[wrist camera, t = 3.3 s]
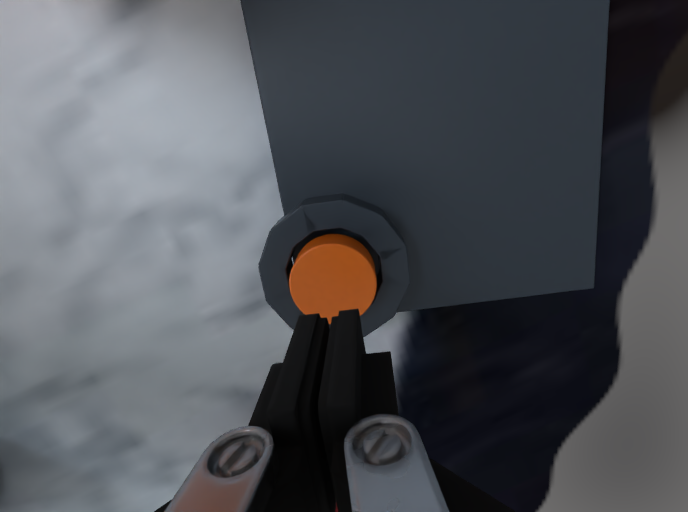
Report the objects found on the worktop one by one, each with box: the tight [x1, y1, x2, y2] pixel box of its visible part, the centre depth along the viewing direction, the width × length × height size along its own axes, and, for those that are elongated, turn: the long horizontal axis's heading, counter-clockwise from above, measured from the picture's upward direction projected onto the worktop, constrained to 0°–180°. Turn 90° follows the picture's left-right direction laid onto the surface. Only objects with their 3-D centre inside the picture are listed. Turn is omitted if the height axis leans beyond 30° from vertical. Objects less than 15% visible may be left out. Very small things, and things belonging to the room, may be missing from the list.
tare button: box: [289, 234, 377, 324], centre depth 16 cm, size 4×4×2 cm
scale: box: [240, 0, 610, 337], centre depth 17 cm, size 15×16×4 cm
